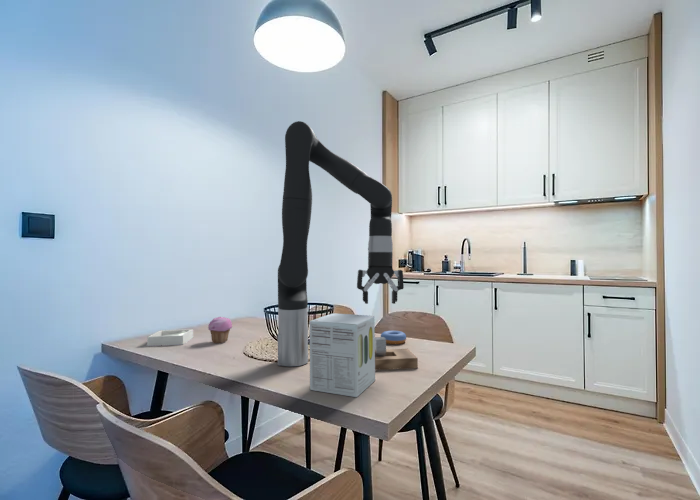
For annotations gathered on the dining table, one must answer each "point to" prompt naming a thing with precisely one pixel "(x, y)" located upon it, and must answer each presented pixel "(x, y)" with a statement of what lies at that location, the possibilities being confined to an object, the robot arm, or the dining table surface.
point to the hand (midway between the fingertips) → (380, 303)
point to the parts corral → (169, 337)
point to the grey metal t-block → (380, 347)
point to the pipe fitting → (177, 333)
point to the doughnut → (394, 337)
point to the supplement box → (342, 353)
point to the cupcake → (220, 329)
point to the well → (396, 360)
